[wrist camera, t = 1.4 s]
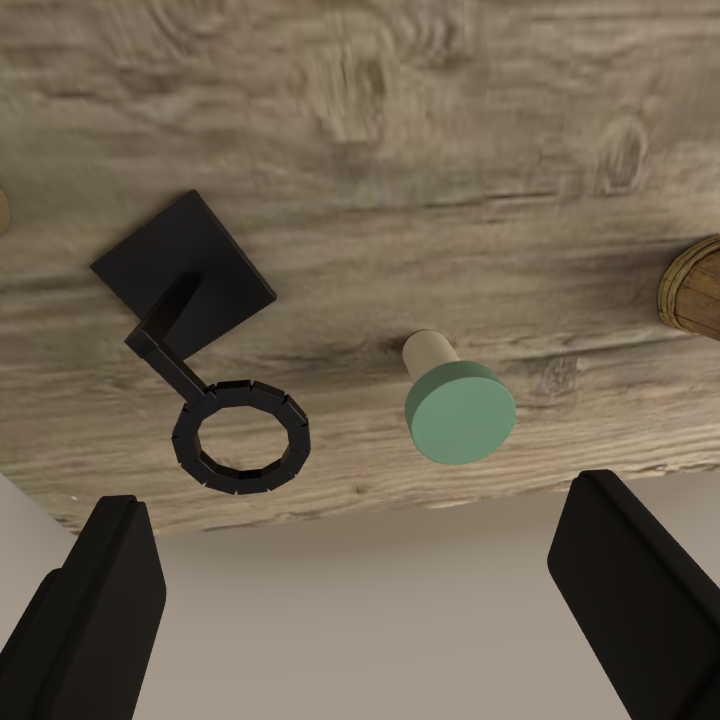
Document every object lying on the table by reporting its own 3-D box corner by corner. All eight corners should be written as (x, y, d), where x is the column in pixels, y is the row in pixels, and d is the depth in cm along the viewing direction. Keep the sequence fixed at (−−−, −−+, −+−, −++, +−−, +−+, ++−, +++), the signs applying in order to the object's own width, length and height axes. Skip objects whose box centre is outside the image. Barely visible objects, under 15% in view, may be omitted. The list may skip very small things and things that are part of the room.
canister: (443, 297, 39) (490, 357, 29) (478, 359, 43) (531, 432, 33) (369, 342, 40) (391, 414, 30) (409, 399, 44) (440, 480, 34)
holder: (194, 188, 33) (143, 219, 22) (332, 367, 41) (342, 450, 31) (93, 262, 35) (2, 324, 24) (245, 419, 43) (226, 516, 32)
